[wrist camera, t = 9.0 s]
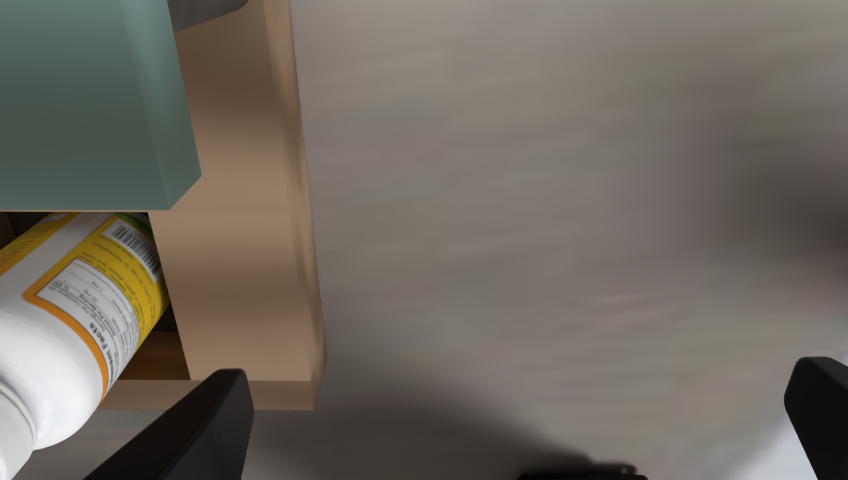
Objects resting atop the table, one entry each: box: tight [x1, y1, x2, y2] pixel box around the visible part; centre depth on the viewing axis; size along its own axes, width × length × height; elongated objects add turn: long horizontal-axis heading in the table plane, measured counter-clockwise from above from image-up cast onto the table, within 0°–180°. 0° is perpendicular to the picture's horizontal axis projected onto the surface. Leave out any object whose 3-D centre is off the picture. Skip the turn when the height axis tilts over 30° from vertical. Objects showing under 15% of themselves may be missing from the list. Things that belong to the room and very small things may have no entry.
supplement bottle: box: [0, 212, 171, 480], centre depth 18 cm, size 5×5×10 cm
